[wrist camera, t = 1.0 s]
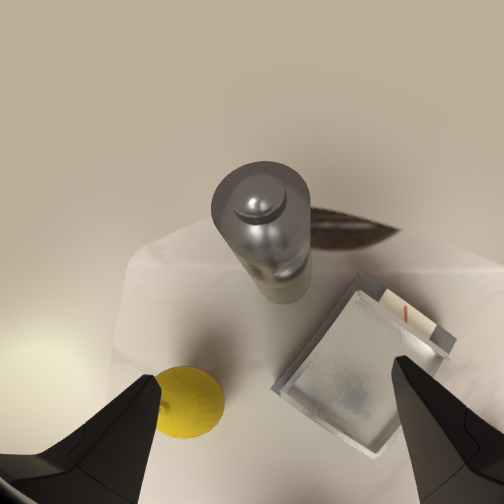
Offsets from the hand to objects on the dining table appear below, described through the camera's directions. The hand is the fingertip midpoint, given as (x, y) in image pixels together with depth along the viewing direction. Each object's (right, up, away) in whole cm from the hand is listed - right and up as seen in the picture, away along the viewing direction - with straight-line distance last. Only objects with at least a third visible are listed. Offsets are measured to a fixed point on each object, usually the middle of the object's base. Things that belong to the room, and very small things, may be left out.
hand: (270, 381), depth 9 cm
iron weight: (+2, +2, +15) cm, 15 cm away
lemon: (-5, -8, +13) cm, 16 cm away
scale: (+8, -5, +11) cm, 15 cm away
